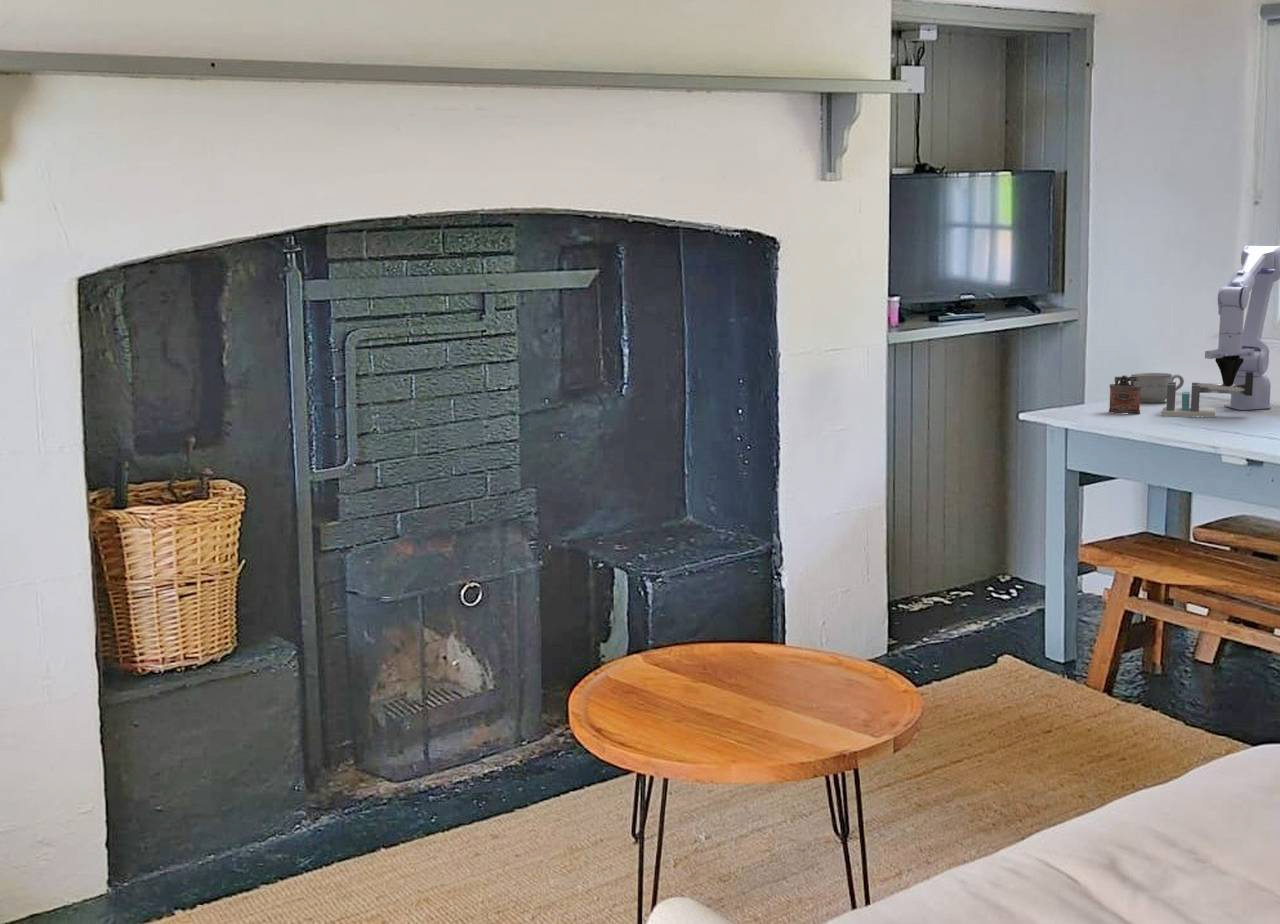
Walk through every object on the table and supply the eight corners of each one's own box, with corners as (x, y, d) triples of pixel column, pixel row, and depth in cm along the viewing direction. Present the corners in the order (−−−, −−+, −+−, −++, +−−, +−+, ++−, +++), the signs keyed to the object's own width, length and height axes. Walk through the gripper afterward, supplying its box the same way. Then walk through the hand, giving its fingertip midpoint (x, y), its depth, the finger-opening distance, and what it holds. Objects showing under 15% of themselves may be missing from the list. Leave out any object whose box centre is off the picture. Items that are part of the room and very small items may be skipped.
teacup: (1130, 404, 430) (1131, 375, 428) (1130, 398, 440) (1131, 370, 438) (1183, 405, 426) (1185, 376, 424) (1182, 399, 436) (1183, 371, 434)
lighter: (1107, 413, 415) (1108, 375, 413) (1110, 411, 418) (1111, 374, 416) (1138, 414, 411) (1140, 377, 409) (1141, 413, 414) (1142, 375, 412)
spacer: (1189, 408, 412) (1189, 391, 412) (1189, 410, 408) (1189, 393, 408) (1182, 408, 413) (1182, 391, 412) (1181, 410, 409) (1182, 393, 408)
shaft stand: (1214, 412, 413) (1216, 382, 411) (1214, 417, 404) (1216, 386, 403) (1162, 410, 417) (1164, 381, 415) (1162, 415, 409) (1163, 385, 407)
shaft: (1251, 394, 406) (1253, 371, 405) (1252, 395, 403) (1253, 372, 402) (1196, 392, 410) (1197, 370, 409) (1196, 394, 408) (1197, 371, 407)
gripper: (1241, 330, 410) (1238, 382, 412) (1197, 332, 404) (1194, 385, 407) (1261, 332, 403) (1258, 385, 406) (1217, 335, 398) (1214, 388, 400)
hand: (1227, 385), depth 406 cm, fingers closed, pressing on shaft
